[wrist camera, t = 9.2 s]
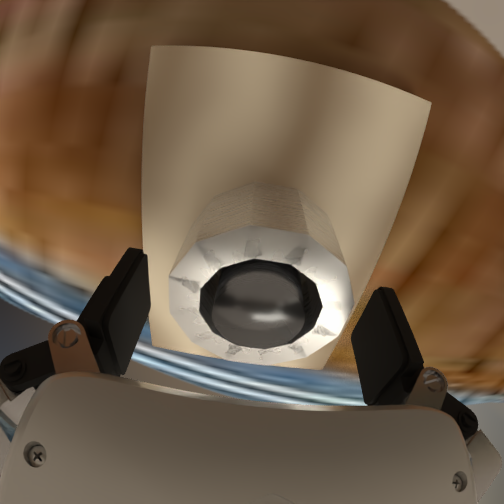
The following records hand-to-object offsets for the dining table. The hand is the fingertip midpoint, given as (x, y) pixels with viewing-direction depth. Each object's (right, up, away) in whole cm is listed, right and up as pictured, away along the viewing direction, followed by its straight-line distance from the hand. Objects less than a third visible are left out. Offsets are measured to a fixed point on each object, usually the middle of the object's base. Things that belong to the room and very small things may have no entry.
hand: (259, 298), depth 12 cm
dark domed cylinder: (0, +2, +3) cm, 3 cm away
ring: (0, +2, +3) cm, 3 cm away
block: (0, +3, +4) cm, 5 cm away
